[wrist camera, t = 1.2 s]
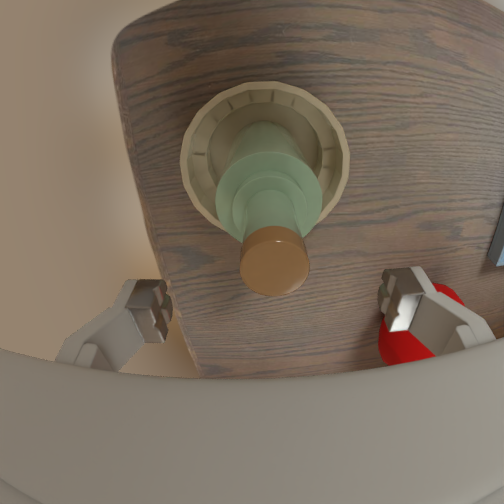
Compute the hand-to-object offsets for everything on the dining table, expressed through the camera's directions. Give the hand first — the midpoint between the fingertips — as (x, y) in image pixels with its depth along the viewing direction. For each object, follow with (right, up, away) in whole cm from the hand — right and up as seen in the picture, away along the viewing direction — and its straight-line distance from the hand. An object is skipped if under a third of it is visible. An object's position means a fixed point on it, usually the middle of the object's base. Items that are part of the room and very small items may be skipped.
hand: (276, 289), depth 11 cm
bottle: (0, +10, +15) cm, 18 cm away
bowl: (0, +11, +15) cm, 19 cm away
